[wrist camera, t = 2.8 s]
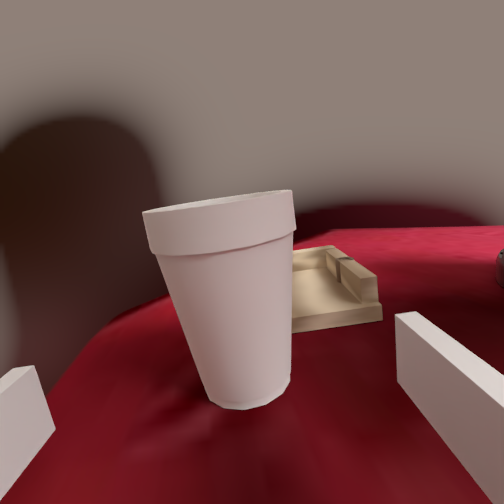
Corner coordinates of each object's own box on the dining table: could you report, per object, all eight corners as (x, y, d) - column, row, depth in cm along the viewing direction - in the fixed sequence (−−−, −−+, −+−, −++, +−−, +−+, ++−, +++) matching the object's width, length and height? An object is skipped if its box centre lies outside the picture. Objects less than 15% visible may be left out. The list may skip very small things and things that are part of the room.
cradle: (336, 272, 42) (333, 244, 41) (385, 319, 27) (383, 278, 26) (226, 288, 42) (221, 261, 41) (217, 344, 27) (209, 303, 27)
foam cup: (200, 349, 27) (171, 204, 24) (303, 338, 26) (285, 188, 23) (165, 436, 18) (112, 219, 15) (322, 423, 17) (298, 193, 14)
